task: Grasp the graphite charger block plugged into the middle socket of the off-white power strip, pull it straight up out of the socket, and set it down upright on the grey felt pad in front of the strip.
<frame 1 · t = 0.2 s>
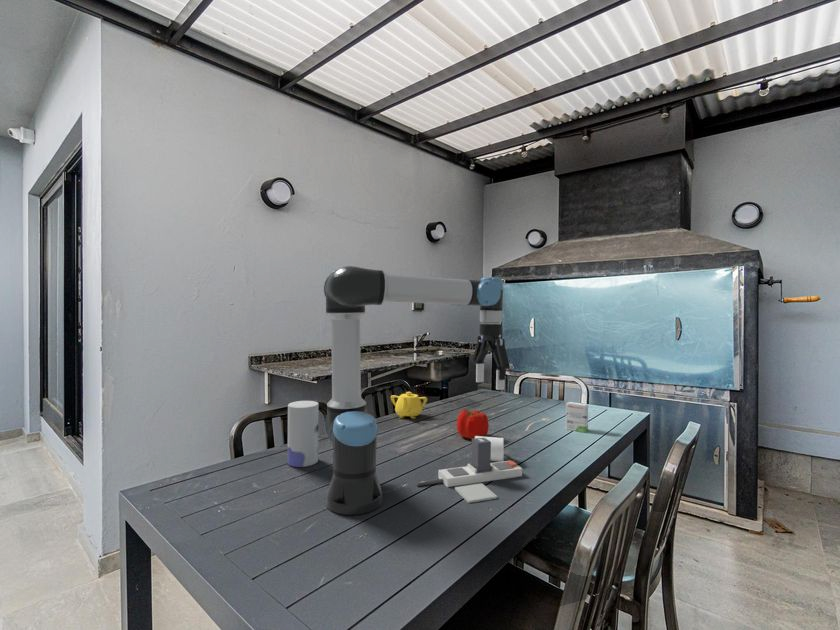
hand: (489, 385, 142), 27 cm above the table, fingers open, 13 cm apart
mug: (489, 458, 149), on the table
charger: (480, 468, 132), point 3 cm above the table, touching power strip
ink box: (576, 430, 185), on the table
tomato: (472, 437, 172), on the table
power strip: (480, 477, 132), on the table
felt pad: (475, 493, 120), on the table
yellow handled pot: (407, 417, 201), on the table
container: (302, 462, 142), on the table
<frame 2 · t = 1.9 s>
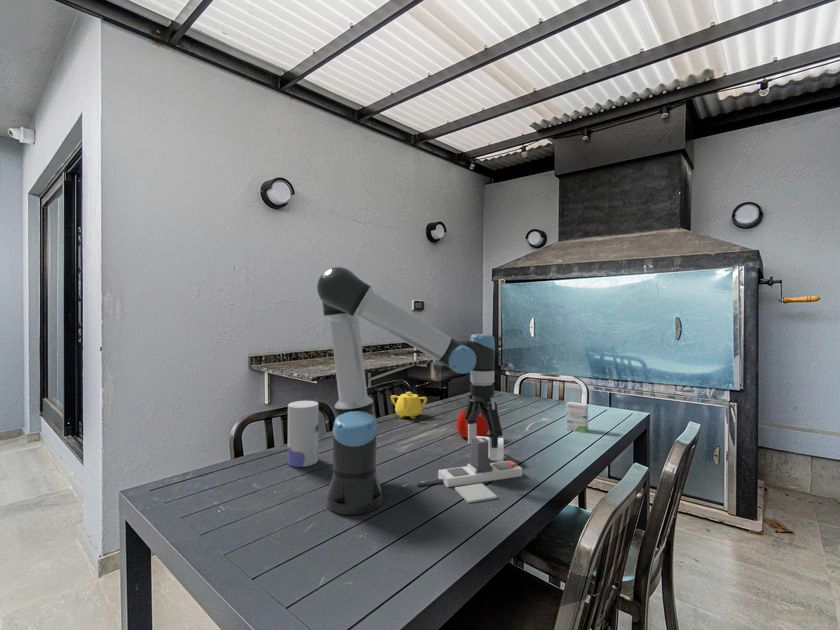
hand: (482, 450, 132), 9 cm above the table, fingers open, 13 cm apart
nothing on the table moved.
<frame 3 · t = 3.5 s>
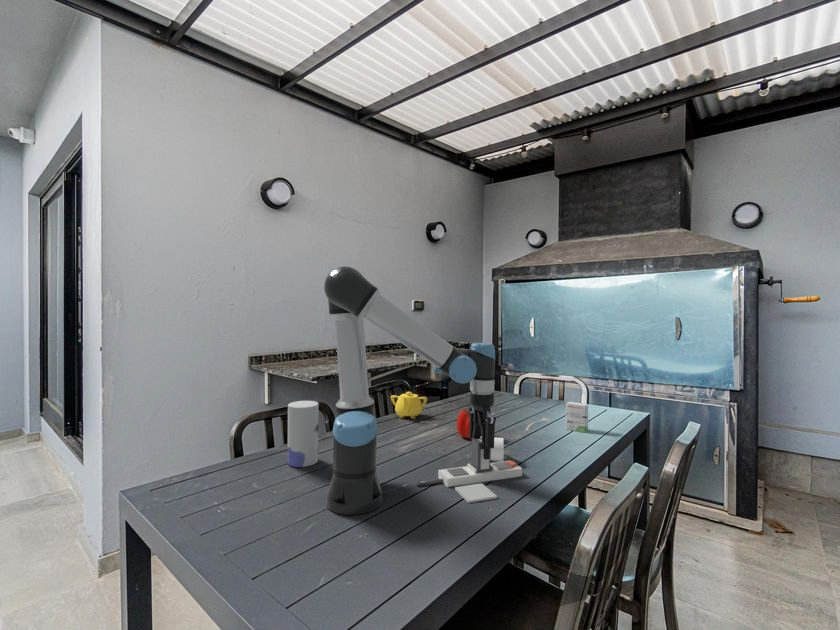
hand: (480, 465, 132), 4 cm above the table, fingers closed on charger, 4 cm apart
charger: (480, 468, 132), point 3 cm above the table, touching gripper, power strip
everything else where it was.
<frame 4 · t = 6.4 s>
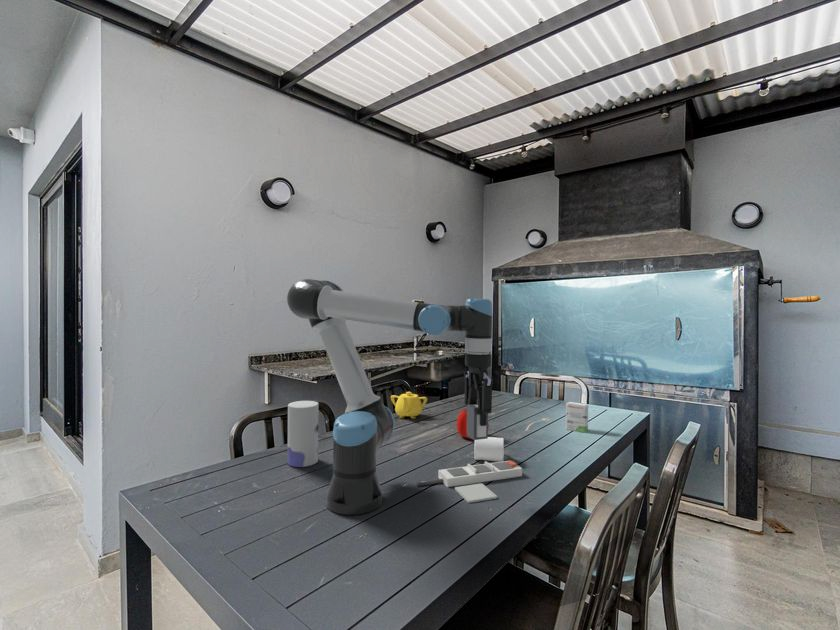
hand: (476, 433, 120), 17 cm above the table, fingers closed on charger, 4 cm apart
charger: (477, 437, 120), point 16 cm above the table, touching gripper
everything else where it was.
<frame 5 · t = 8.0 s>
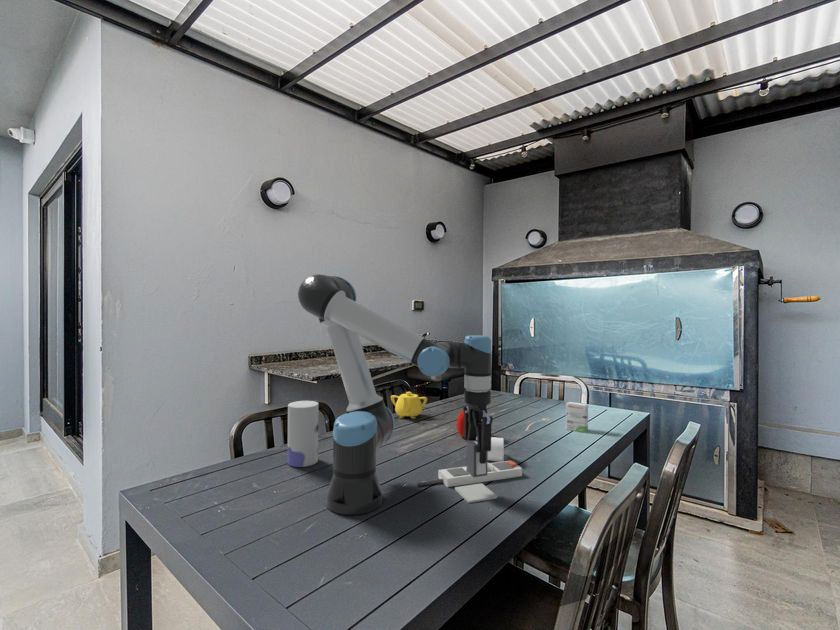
hand: (476, 470, 120), 7 cm above the table, fingers closed on charger, 4 cm apart
charger: (476, 473, 120), point 6 cm above the table, touching gripper
everything else where it was.
when the fingers open (3 cm above the table, at t = 9.5 s): charger drops 2 cm, resting on felt pad.
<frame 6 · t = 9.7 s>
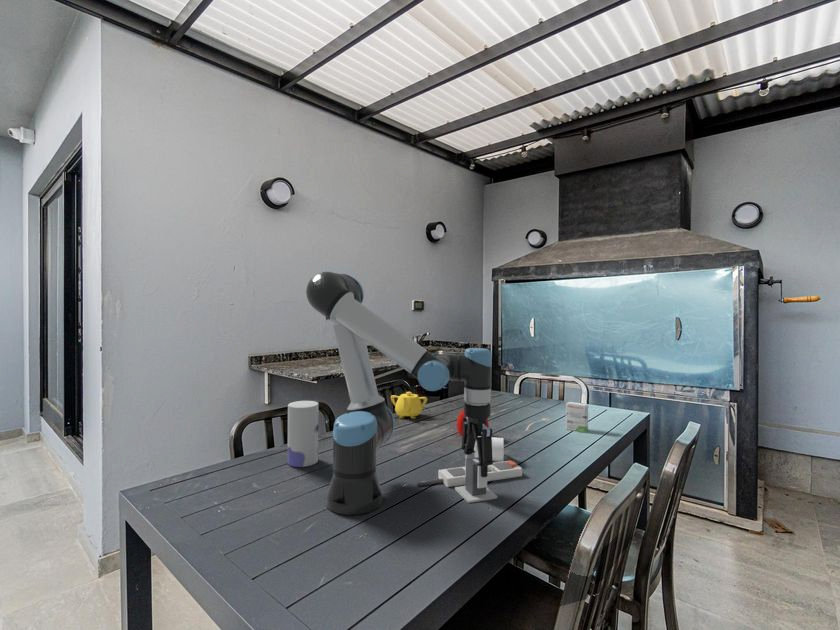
hand: (475, 481, 120), 4 cm above the table, fingers open, 7 cm apart
charger: (475, 491, 120), point 1 cm above the table, touching felt pad
everything else where it was.
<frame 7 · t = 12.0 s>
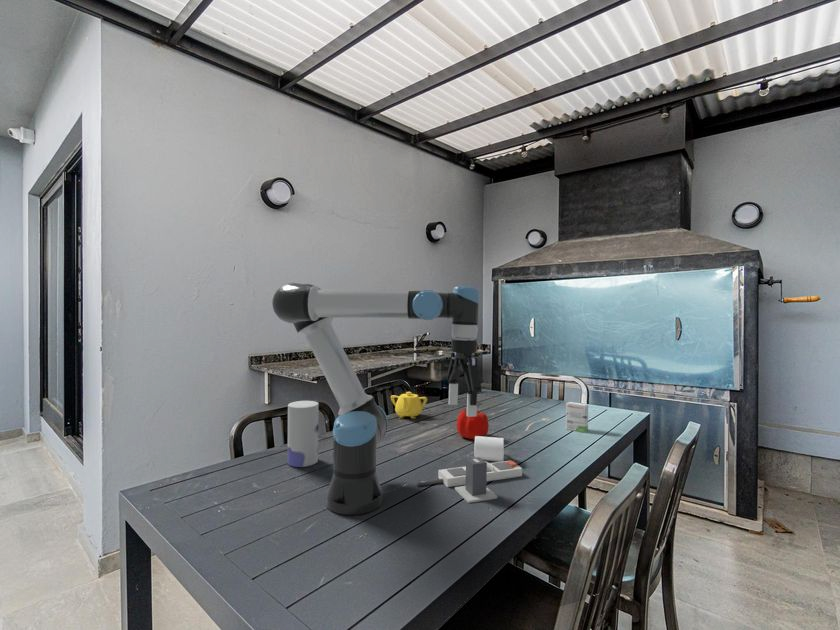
hand: (461, 410, 124), 23 cm above the table, fingers open, 13 cm apart
nothing on the table moved.
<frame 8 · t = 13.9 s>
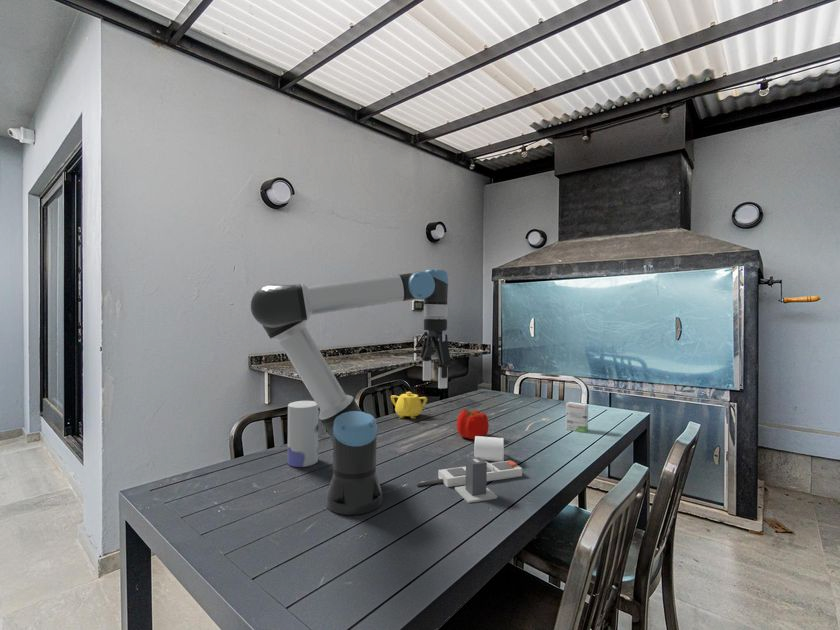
hand: (434, 384, 134), 29 cm above the table, fingers open, 13 cm apart
nothing on the table moved.
at the end: charger inside the target area on the felt pad (0.0 cm from its centre), point 0.6 cm above the felt pad's base; charger tilted 0°; the gripper is holding nothing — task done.
